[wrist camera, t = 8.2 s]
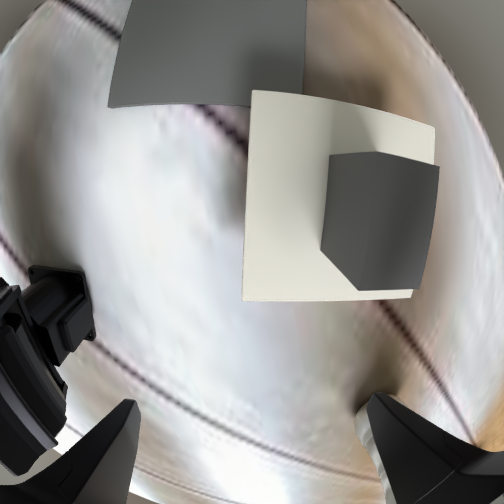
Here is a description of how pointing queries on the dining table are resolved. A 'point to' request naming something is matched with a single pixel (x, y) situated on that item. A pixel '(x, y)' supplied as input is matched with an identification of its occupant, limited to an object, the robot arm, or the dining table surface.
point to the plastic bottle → (373, 447)
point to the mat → (208, 51)
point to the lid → (335, 201)
